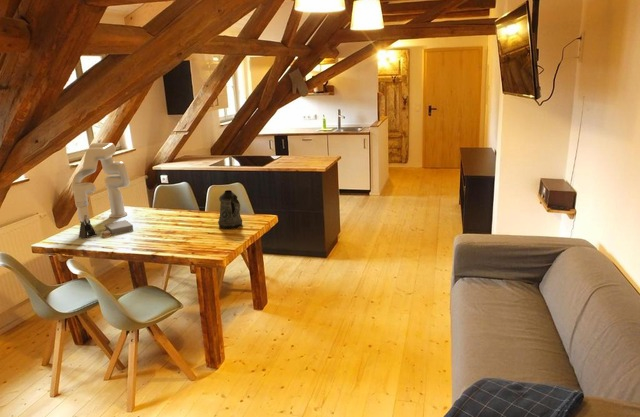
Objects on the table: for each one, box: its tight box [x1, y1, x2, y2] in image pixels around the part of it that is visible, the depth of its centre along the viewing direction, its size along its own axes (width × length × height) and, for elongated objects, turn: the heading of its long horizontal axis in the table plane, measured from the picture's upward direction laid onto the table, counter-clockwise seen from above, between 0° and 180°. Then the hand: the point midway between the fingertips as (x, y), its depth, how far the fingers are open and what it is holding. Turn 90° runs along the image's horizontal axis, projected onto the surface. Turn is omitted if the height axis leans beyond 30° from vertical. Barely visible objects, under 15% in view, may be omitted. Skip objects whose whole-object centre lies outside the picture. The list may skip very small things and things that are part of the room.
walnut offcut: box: [101, 230, 112, 238], centre depth 310 cm, size 5×4×3 cm
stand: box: [104, 219, 134, 236], centre depth 321 cm, size 16×14×4 cm
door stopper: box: [78, 219, 97, 240], centre depth 309 cm, size 9×6×12 cm, turn 152°
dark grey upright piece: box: [217, 189, 243, 230], centre depth 320 cm, size 16×19×25 cm
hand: (86, 229), depth 309 cm, fingers open, 9 cm apart
